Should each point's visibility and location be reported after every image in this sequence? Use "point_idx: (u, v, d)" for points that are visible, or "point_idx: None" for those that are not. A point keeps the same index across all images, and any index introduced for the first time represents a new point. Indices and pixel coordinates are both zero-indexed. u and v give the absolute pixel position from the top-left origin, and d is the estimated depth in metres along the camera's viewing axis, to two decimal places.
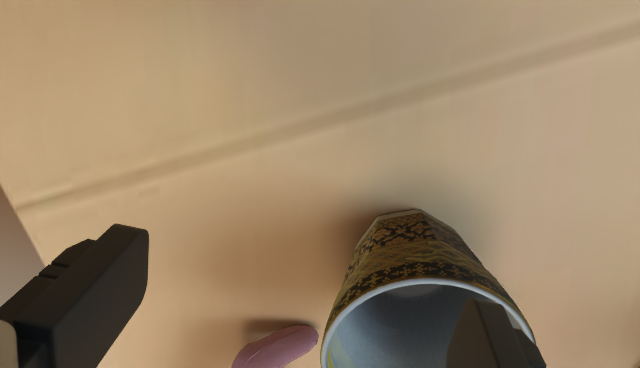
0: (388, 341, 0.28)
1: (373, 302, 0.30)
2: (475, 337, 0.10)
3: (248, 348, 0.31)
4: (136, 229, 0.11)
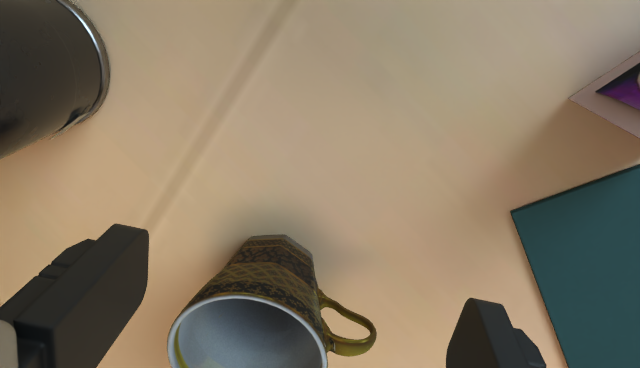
0: (280, 343, 0.34)
1: (269, 318, 0.36)
2: (475, 337, 0.10)
3: None
4: (136, 229, 0.11)
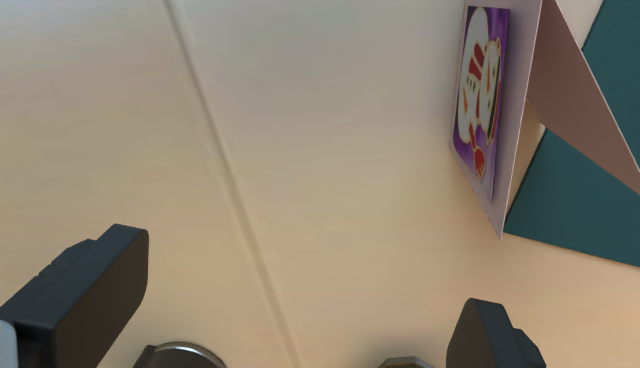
0: None
1: None
2: (475, 337, 0.10)
3: None
4: (136, 229, 0.11)
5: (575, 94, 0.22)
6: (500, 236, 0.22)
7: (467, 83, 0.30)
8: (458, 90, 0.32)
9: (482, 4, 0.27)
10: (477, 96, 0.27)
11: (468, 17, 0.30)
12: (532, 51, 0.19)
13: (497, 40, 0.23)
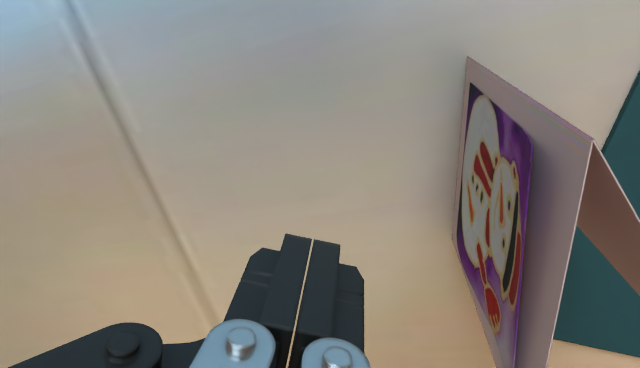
0: None
1: None
2: None
3: None
4: (306, 239, 0.12)
5: (625, 246, 0.16)
6: None
7: (472, 183, 0.23)
8: (461, 180, 0.26)
9: (489, 95, 0.20)
10: (486, 214, 0.21)
11: (470, 97, 0.24)
12: (572, 233, 0.12)
13: (513, 165, 0.17)
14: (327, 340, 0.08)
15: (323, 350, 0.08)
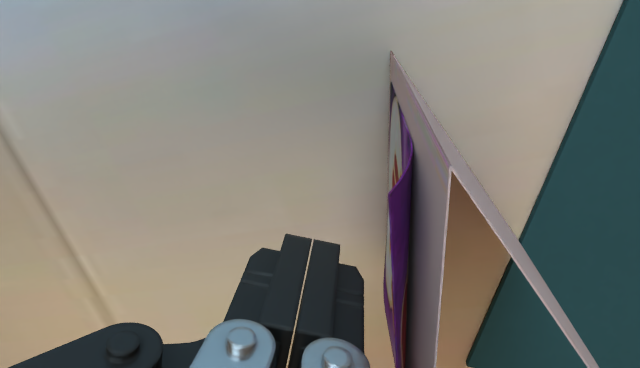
0: None
1: None
2: (307, 271, 0.11)
3: None
4: (306, 239, 0.12)
5: (547, 297, 0.12)
6: None
7: None
8: None
9: (398, 97, 0.17)
10: None
11: (390, 100, 0.20)
12: (438, 302, 0.08)
13: None
14: (327, 340, 0.08)
15: (323, 350, 0.08)
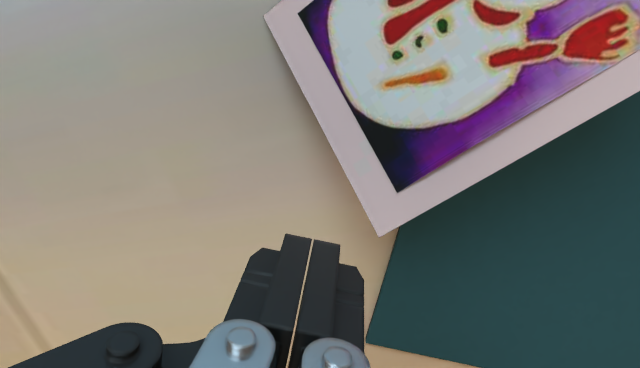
0: None
1: None
2: None
3: None
4: (306, 238, 0.12)
5: None
6: None
7: (401, 58, 0.18)
8: (356, 116, 0.18)
9: None
10: (475, 13, 0.17)
11: (314, 17, 0.20)
12: None
13: None
14: (327, 340, 0.08)
15: (323, 350, 0.08)
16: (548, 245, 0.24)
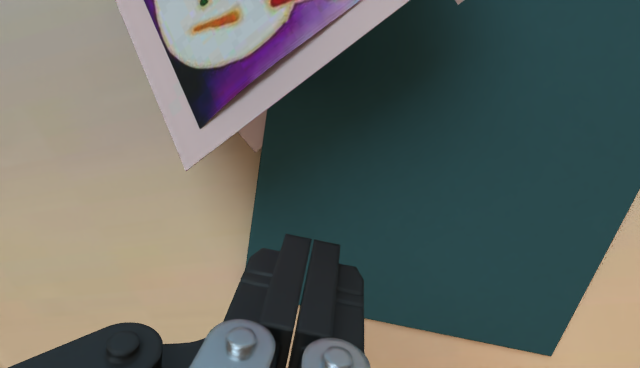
0: None
1: None
2: None
3: None
4: (306, 239, 0.12)
5: None
6: None
7: (206, 4, 0.19)
8: (171, 60, 0.20)
9: None
10: None
11: None
12: None
13: None
14: (327, 340, 0.08)
15: (323, 350, 0.08)
16: (395, 192, 0.25)
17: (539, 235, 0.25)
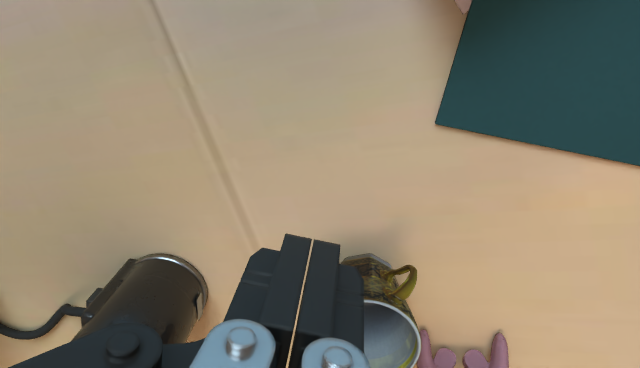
0: (399, 318, 0.45)
1: (387, 309, 0.48)
2: None
3: None
4: (306, 239, 0.12)
5: None
6: None
7: None
8: None
9: None
10: None
11: None
12: None
13: None
14: (327, 340, 0.08)
15: (323, 350, 0.08)
16: (557, 40, 0.38)
17: None
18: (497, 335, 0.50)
